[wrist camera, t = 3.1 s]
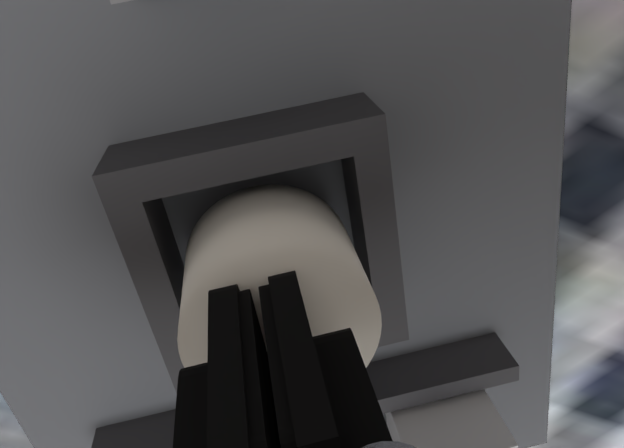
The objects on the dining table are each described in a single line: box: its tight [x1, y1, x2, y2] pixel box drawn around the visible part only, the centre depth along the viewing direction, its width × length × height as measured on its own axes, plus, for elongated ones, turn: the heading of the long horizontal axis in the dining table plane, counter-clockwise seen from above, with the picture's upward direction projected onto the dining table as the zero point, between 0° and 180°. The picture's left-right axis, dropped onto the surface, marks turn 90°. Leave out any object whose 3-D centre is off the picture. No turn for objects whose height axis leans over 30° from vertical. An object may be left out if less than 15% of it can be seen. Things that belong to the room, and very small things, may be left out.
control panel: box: [0, 0, 572, 448], centre depth 14 cm, size 17×25×5 cm
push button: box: [177, 184, 382, 368], centre depth 12 cm, size 4×4×3 cm
